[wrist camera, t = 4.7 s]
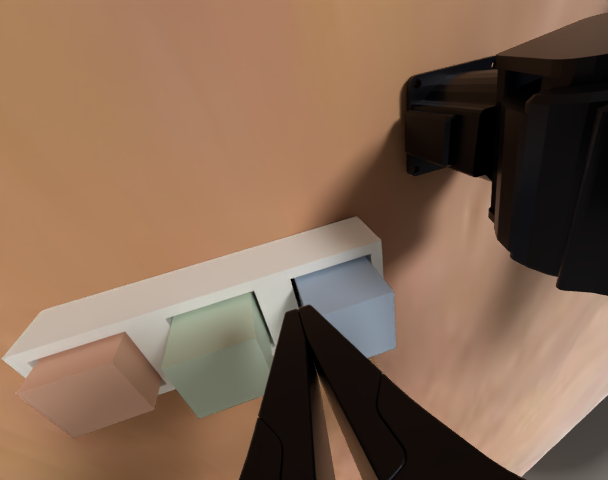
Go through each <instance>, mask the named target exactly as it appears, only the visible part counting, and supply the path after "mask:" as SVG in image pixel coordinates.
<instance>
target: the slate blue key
mask: <svg viewBox="0 0 608 480" xmlns="http://www.w3.org/2000/svg"><path fill="white" fill-rule="evenodd" d="M294 281H295V284H296V288H297V291H298V295H299V299H300V302H301V306H305V305H308V304H310V305H312V306H313V307H314V308H315V309H316V310H317V311H318V312H319V313H320V314H321V315H322V316H323V317H324V318H325V319H326V320H327V321H329V322H330V323H331V324H332V325H333V326H334V327H335V328H336V329H337V330H338V331H339V332H340V333H341V334H342V335H343V336H344V337H345V338H346V339H348V340H349V341H350V342H351V343H352V344H353V345H354V346H355V347H356V348H357V349H358V350H359V351H360V352H361V353H362V354H363V355H364V356H366V357H367V358H369V357H372V356H375V355H378V354H381V353H383V352H386V351H389V350H392V349H394V348H396V334H395V307H394V291H393V290H392V289H391V287H390V286H389V285H388V284H387V282H386V281H385V280H384V279H383V278H382V276H381V275H380V274H379V273H378V271H377V270H376V269H375V268H374V267H373V265H372V264H371V263H370V262H369V260H368V259H367V258H366V257H365V256H362V257H359V258H356V259H353V260H349V261H346V262H343V263H340V264H337V265H334V266H331V267H327V268H324V269H321V270H318V271H315V272H312V273H308V274H305V275H302V276H299V277H296V278H294Z"/></svg>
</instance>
